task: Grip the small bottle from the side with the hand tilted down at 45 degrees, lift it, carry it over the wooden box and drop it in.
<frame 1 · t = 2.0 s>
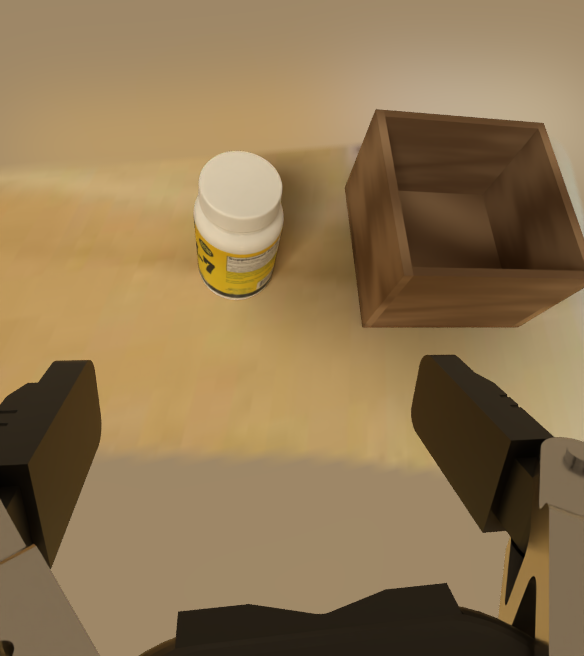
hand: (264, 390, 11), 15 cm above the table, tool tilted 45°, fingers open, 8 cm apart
wooden box: (428, 255, 31), on the table
supplement bottle: (235, 270, 29), on the table
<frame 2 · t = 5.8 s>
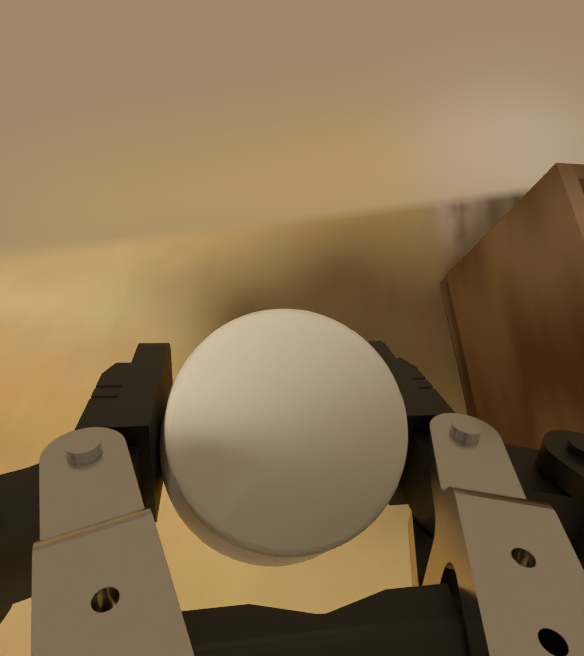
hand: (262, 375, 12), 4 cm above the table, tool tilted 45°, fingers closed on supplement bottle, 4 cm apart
supplement bottle: (253, 464, 15), on the table, touching gripper
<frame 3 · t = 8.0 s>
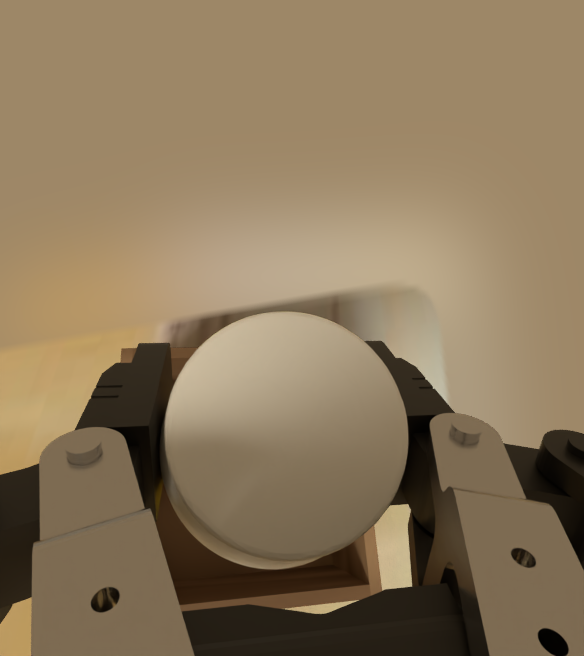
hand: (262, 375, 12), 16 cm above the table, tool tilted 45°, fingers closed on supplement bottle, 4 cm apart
wooden box: (238, 475, 26), on the table
supplement bottle: (254, 466, 15), point 12 cm above the table, touching gripper
when the fingers open (9 cm above the table, at t = 10.0 s): supplement bottle drops 4 cm, resting on wooden box.
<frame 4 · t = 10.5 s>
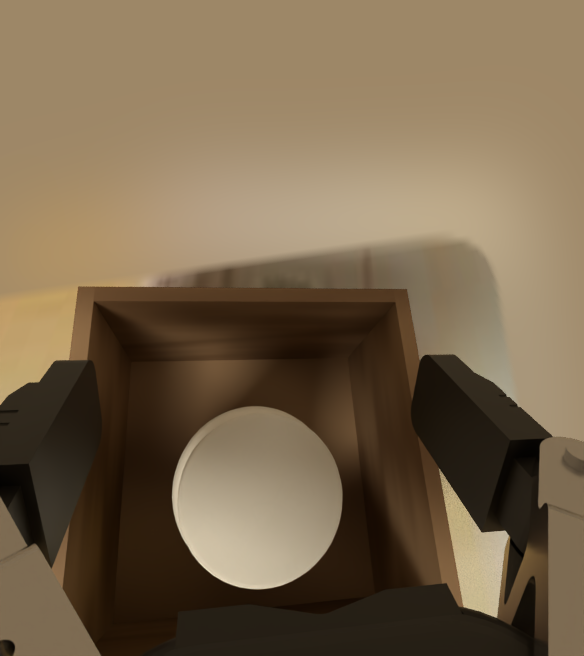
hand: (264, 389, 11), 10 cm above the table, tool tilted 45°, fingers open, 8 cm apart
wooden box: (245, 473, 19), on the table
supplement bottle: (244, 478, 19), point 1 cm above the table, touching wooden box
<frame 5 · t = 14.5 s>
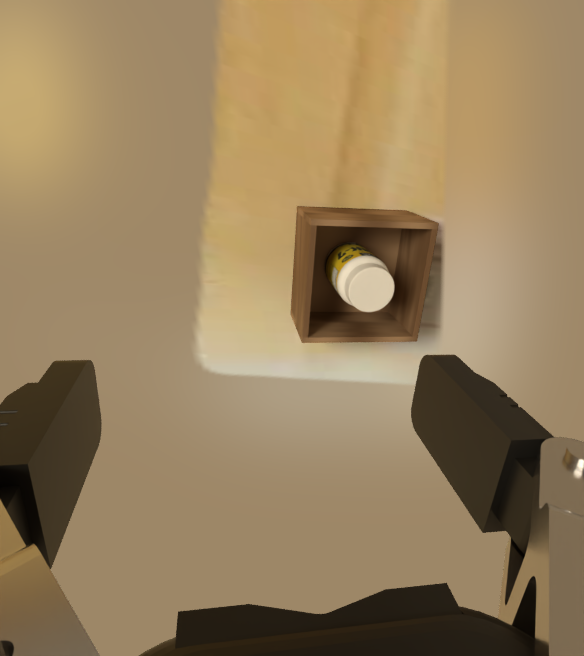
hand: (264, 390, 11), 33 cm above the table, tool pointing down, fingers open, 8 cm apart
wooden box: (347, 263, 45), on the table
supplement bottle: (346, 264, 45), resting on wooden box
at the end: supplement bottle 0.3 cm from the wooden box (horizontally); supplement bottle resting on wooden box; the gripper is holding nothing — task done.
